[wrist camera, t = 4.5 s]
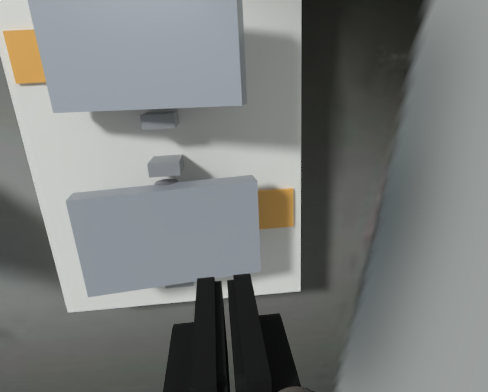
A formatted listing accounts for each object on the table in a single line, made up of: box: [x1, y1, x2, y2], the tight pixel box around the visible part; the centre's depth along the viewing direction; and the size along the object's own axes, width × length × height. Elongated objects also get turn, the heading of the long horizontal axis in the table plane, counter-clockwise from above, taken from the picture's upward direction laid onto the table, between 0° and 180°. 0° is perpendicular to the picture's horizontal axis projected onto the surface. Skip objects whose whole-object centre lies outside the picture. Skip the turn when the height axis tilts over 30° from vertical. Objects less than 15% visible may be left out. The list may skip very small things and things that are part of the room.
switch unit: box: [0, 0, 302, 312], centre depth 18 cm, size 30×15×5 cm, turn 3°
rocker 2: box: [66, 175, 261, 297], centre depth 18 cm, size 5×9×2 cm, turn 93°
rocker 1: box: [28, 0, 247, 113], centre depth 15 cm, size 5×9×2 cm, turn 93°
